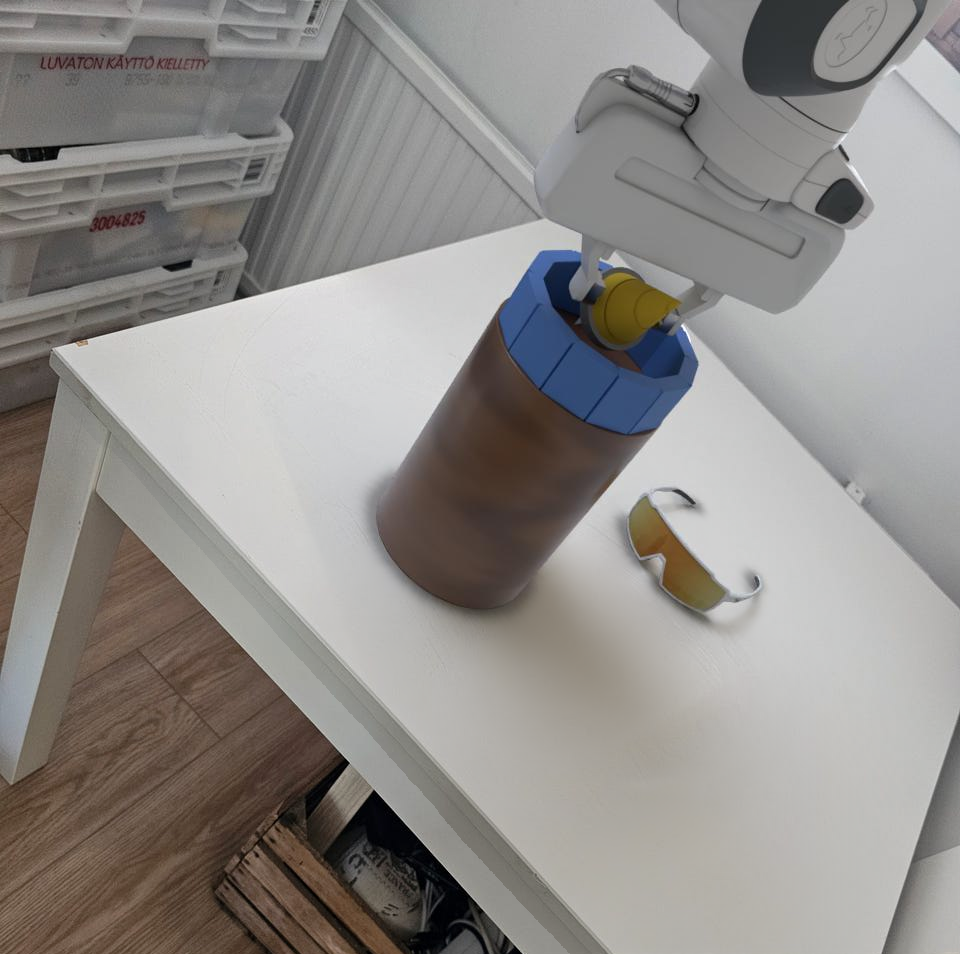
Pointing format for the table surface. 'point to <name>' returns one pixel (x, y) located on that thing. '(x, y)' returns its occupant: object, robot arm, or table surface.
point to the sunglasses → (676, 556)
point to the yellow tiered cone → (624, 310)
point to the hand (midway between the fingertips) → (620, 313)
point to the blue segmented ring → (591, 354)
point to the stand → (497, 478)
